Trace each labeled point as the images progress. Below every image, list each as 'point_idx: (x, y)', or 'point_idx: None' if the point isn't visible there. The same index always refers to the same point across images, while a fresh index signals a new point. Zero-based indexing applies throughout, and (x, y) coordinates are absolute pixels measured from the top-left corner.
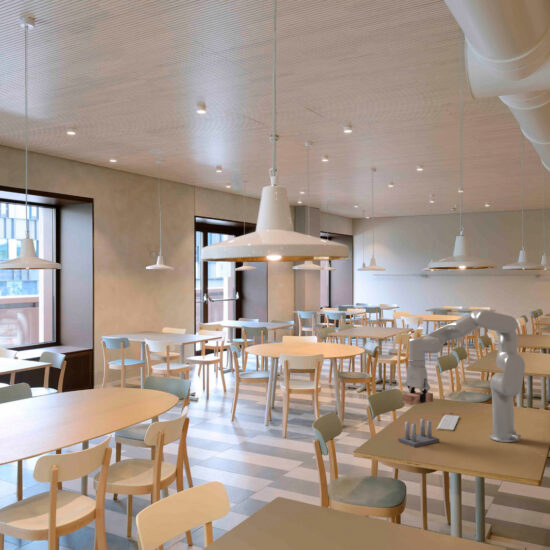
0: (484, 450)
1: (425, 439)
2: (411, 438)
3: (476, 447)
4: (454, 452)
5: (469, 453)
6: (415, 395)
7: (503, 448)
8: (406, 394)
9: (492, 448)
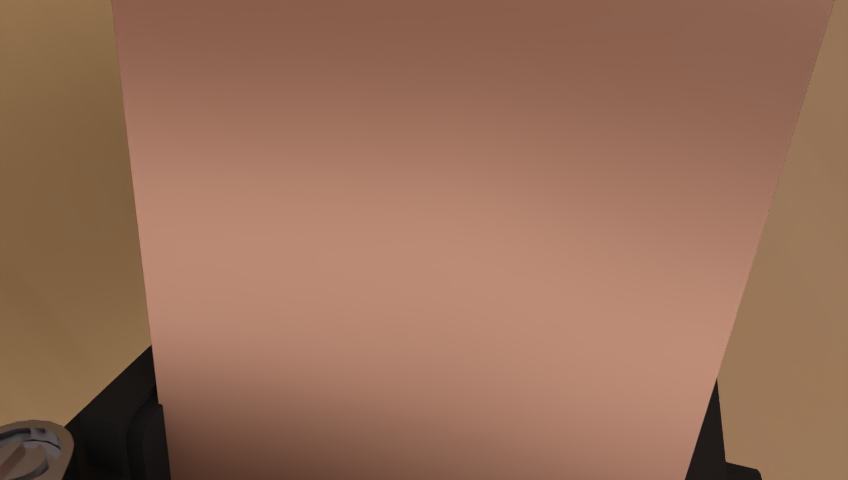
0: (49, 281)
1: None
2: None
3: (130, 309)
4: (102, 47)
5: (32, 125)
6: (205, 261)
7: (35, 408)
8: (630, 154)
9: (64, 362)
